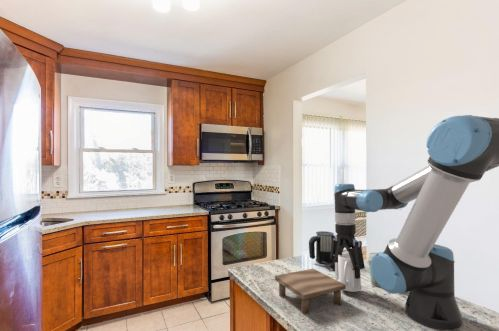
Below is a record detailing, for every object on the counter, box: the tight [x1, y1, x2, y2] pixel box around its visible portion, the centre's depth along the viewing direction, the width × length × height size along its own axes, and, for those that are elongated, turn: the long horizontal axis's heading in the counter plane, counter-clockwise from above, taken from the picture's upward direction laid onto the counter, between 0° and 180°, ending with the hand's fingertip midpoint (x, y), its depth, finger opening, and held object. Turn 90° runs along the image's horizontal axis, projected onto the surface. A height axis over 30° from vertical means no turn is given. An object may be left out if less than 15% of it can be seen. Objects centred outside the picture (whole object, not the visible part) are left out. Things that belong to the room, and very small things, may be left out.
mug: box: [338, 252, 363, 292], centre depth 106 cm, size 12×8×12 cm
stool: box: [274, 268, 346, 315], centre depth 100 cm, size 18×18×7 cm
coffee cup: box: [366, 252, 381, 288], centre depth 113 cm, size 8×8×12 cm
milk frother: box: [308, 230, 335, 269], centre depth 138 cm, size 14×16×15 cm
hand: (346, 282), depth 106 cm, fingers closed on mug, 8 cm apart
